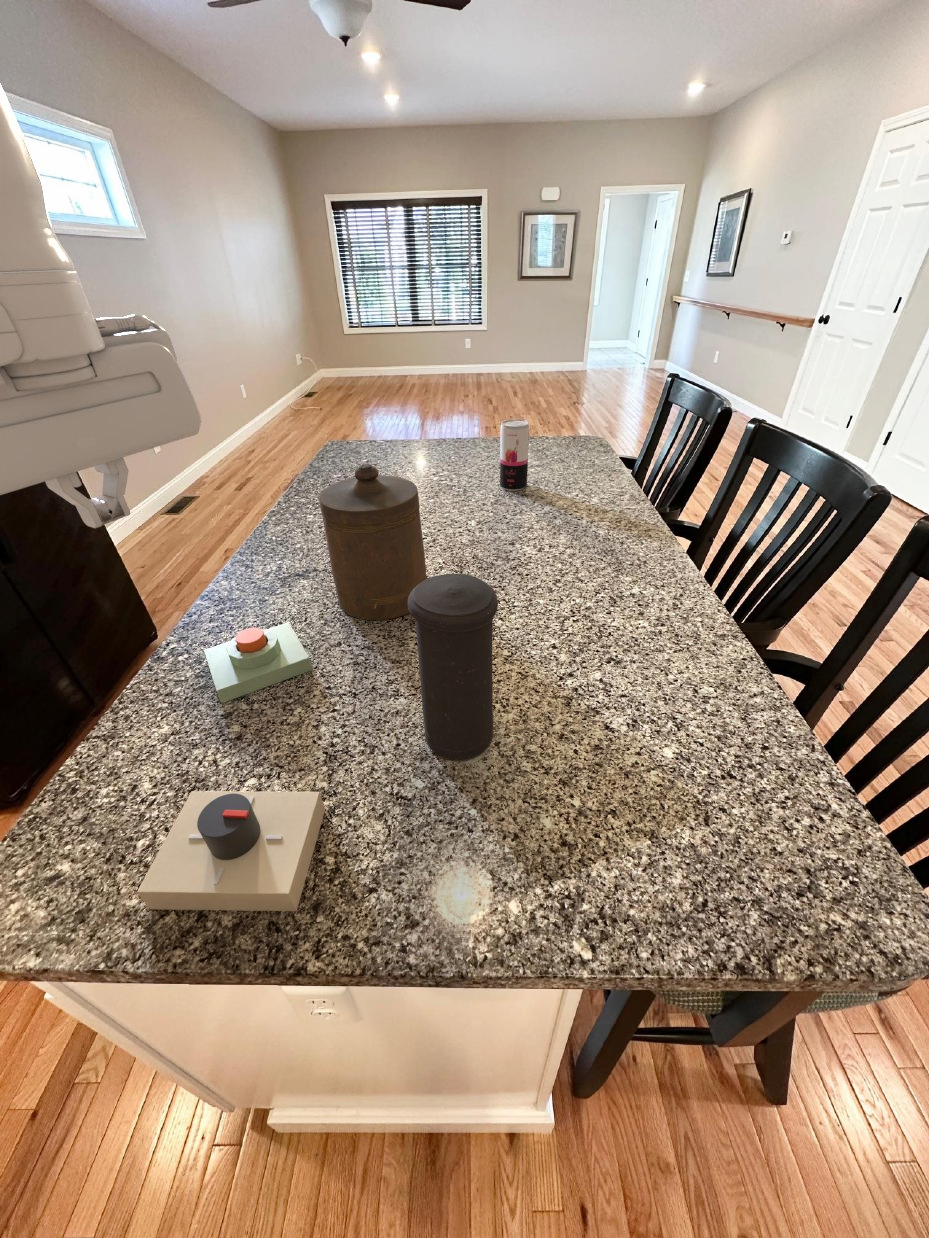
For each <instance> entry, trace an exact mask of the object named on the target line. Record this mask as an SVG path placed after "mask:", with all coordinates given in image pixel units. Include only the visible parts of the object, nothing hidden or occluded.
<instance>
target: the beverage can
mask: <svg viewBox="0 0 929 1238" xmlns="http://www.w3.org/2000/svg"><path fill="white" fill-rule="evenodd" d="M500 424H501V425H500V430H499V431H500V433H499V434H500V435H499V436H500V437H499V439H500V441H499V444H500V447H499V452H500V453H499V486H500V487H501V489H502V490H505V491H508V492H509V491H510V492H519V491H522V490H524V489H525V488H526V487H527V486H528V468H529V444H530V422H529V421H528V420H526V419H520V418H513V419H511V418H510V419H505V420H502V421H501V422H500Z"/></svg>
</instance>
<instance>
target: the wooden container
mask: <svg viewBox="0 0 929 1238" xmlns="http://www.w3.org/2000/svg"><path fill="white" fill-rule="evenodd" d="M379 473H380V472H379V470H378V468H377V467H376V466H374V465H372V464H370V463H363V464H361V465H359V466H358V467H356V468H355V469H354V477H350V478H346V479H343V480H340V481H336V482H334V483H332V484H330V485H328V486H327V487H325V488H324V489H322V491H321V492H320V493H319V496H318V502H319V508H320V512H321V517H322V525H323V530H324V535H325V539H326V540H325V541H326V546H327V552H328V558H329V564H330V569H331V575H332V578H333V583H334V588H335V591H336V596H337V601H338V604H339V607H340V609H341V610H342V611H343V612H344V613H346V614H347V615H349V616H350V617H354V618H356V619H362V620H368V621H384V620H385V621H386V620H391V619H395V618H400V617H402V616H405V615H408V614H411V613H410V611H409V609H408V597H409V595H410V593H411V591H412V590H413V589H414V588H415V587H416V586H417V585H419V584H420V583H421V582H423V581H424V580H426V579H428V578H427V565H426V554H425V547H424V539H423V530H422V529H423V528H422V522H421V521H422V519H421V510H420V497H419V490H418V486H417V485H416V484H415V483H414V482H413V481H411V480H409V479H406V478H403V477H400V476H396V475H386V474H385V475H384V474H383V475H382V474H379Z"/></svg>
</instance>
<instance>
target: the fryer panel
mask: <svg viewBox="0 0 929 1238" xmlns="http://www.w3.org/2000/svg"><path fill="white" fill-rule="evenodd" d="M232 793H236V794H241V795H243V796H245V797H246V798H247V799H248V800H249V802H250V804H251V806H252V809H253V811H254V813H255V815H256V818H257V820H258V822H259V825H260V835H259V838H258V840H257V842H256V844H255V845H254V846H253V847H252V848H251V849H250V850H249V851H248V852H247V853H245V854H244V855H242V856H240V857H238V858H235V859H231V860H221V859H218V858H216V857H214V856H213V855H212V853H211V852H210V850H209V848H208V846H207V844H206V843H205V841H204V839H203V837H202V836H201V834H200V832H199V830H198V827H197V822H198V818H199V815H200V813H201V812H202V810H203V809H204V808H205V807H206V805H208V804H209V803H210V802H211V801H213V800H214V799H216V798H218V797H220V796H223V795H226V794H232ZM325 812H326V808H325V804H324V800H323V798H322V795H321V791H254V790H253V791H250V790H249V791H245V790H243V791H239V790H238V791H237V790H236V791H235V790H234V791H233V790H232V791H231V790H228V791H226V790H225V791H223V790H219V791H218V790H217V791H216V790H215V791H214V790H212V791H211V790H209V791H208V790H205V791H204V790H192V791H191V792H190V793H189V795H188V797H187V799H186V801H185V802H184V804H183V806H182V808H181V810H180V811H179V814H178V816H177V817H176V819H175V821H174V822H173V825H172V826H171V828H170V830H169V832H168V834H167V835H166V837H165V839H164V841H163V843H162V845H161V847H160V848H159V850H158V851H157V854H156V856H155V858H154V859H153V861H152V863H151V865H150V867H149V868H148V870H147V872H146V874H145V876H144V878H143V879H142V881H141V883H140V886H139V887H138V888H137V891H136V894H137V895H139V897H140V898H141V899H142V901H143V902H144V903H145V905H146V906H147V907H148V908H149V910H163V911H164V910H165V911H167V910H168V911H169V910H170V911H171V910H172V911H237V912H238V911H239V912H240V911H243V912H244V911H245V912H246V911H247V912H251V911H252V912H297V911H298V908H299V904H300V901H301V897H302V893H303V890H304V886H305V884H306V879H307V876H308V872H309V869H310V865H311V862H312V859H313V855H314V851H315V847H316V844H317V840H318V837H319V834H320V830H321V826H322V823H323V819H324V816H325Z"/></svg>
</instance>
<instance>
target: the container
mask: <svg viewBox="0 0 929 1238" xmlns="http://www.w3.org/2000/svg"><path fill="white" fill-rule="evenodd" d="M498 608H499V601H498V595H497V593H496V591H495V590H494V588H493V587H492V586H491V585H490V584H489V583H487V582H486V581H485V580H482V579H481V578H478V577H476V576H473V575H471V574H466V573H443V574H439V575H438V574H437V575H434V576H432V577H429V578H427V579H426V580H424V581H423V582H421V583H420V584H419V585H417V586H416V587H415V588H414V589H413V590H412V591H411V593H410V595H409V597H408V609H409V611H410V613H409V614H410V615H411V616H412V618H413V619H414V620H415V621H414V622H415V633H416V643H417V644H416V645H417V656H418V657H417V659H418V671H419V681H420V683H419V684H420V695H421V708H422V720H423V730H424V731H423V732H424V737H425V742H426V744H427V746H428V748H429V749H430V751H432V752H433V753H434V754H435V755H436V756H438V757H440V758H443V759H446V760H450V761H457V762H458V761H459V762H460V761H467V760H471V759H475V758H477V757H478V756H480V755H482V754H483V753H484V752H485V751H486V750H487V749H488V748H489V747H490V746H491V743H492V740H493V738H494V737H493V736H494V699H493V698H494V695H493V694H494V693H493V692H494V689H493V637H494V636H493V631H494V630H493V628H494V625H493V621H494V617H495V616H496V614H497V612H498Z"/></svg>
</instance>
